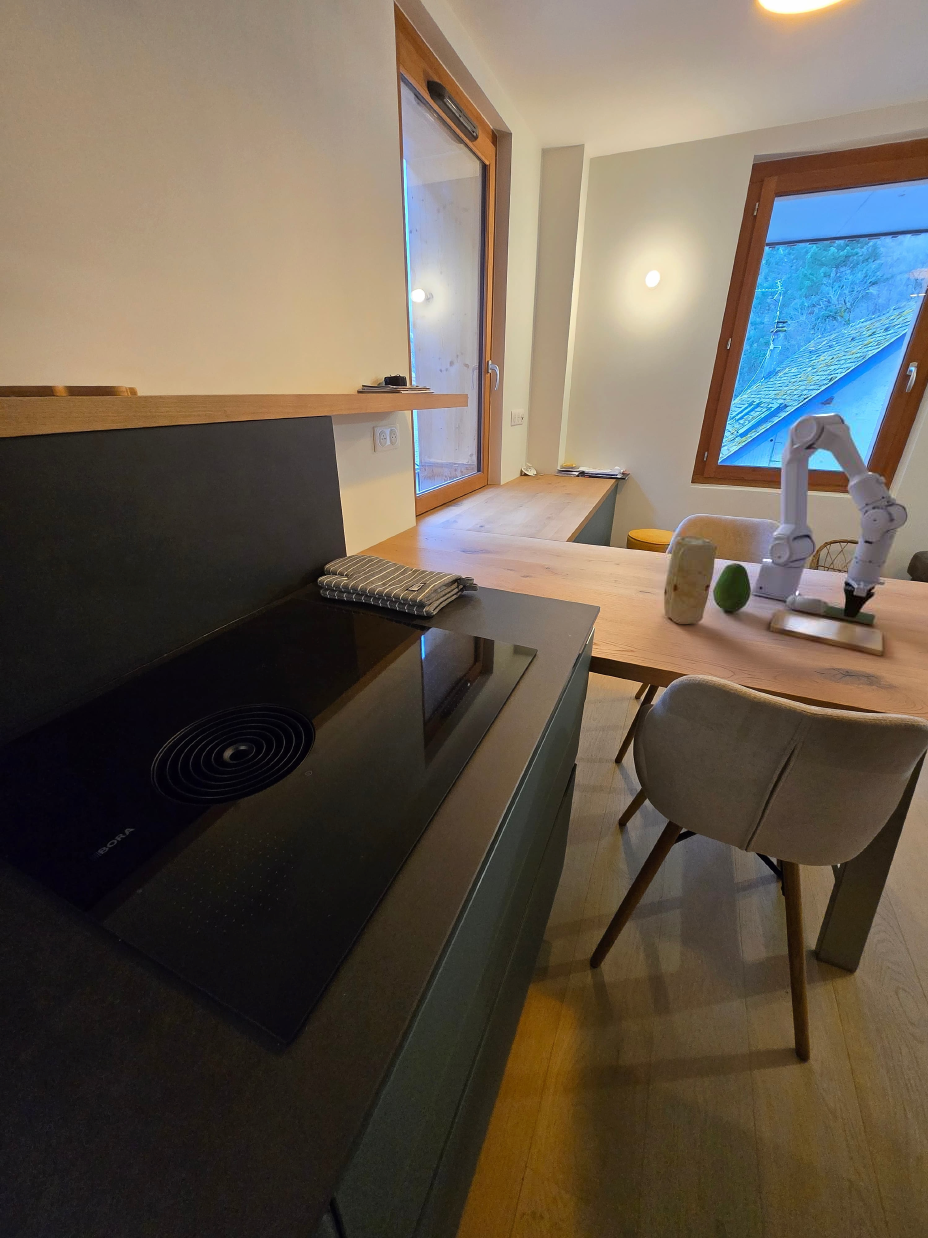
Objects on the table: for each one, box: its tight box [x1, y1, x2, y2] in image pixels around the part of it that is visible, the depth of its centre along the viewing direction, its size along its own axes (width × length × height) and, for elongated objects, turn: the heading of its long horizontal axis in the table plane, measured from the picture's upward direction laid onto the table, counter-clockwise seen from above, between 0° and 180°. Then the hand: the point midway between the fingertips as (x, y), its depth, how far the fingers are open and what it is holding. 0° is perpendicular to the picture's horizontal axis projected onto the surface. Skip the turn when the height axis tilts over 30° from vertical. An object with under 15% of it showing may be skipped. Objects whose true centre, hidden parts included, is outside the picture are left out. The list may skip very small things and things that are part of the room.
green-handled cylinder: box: [785, 594, 876, 626], centre depth 117 cm, size 17×4×4 cm, turn 53°
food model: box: [663, 535, 718, 625], centre depth 113 cm, size 10×7×20 cm
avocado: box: [712, 562, 752, 612], centre depth 119 cm, size 8×8×12 cm
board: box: [769, 608, 883, 656], centre depth 110 cm, size 20×11×1 cm, turn 53°
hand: (849, 614), depth 115 cm, fingers closed on green-handled cylinder, 2 cm apart
